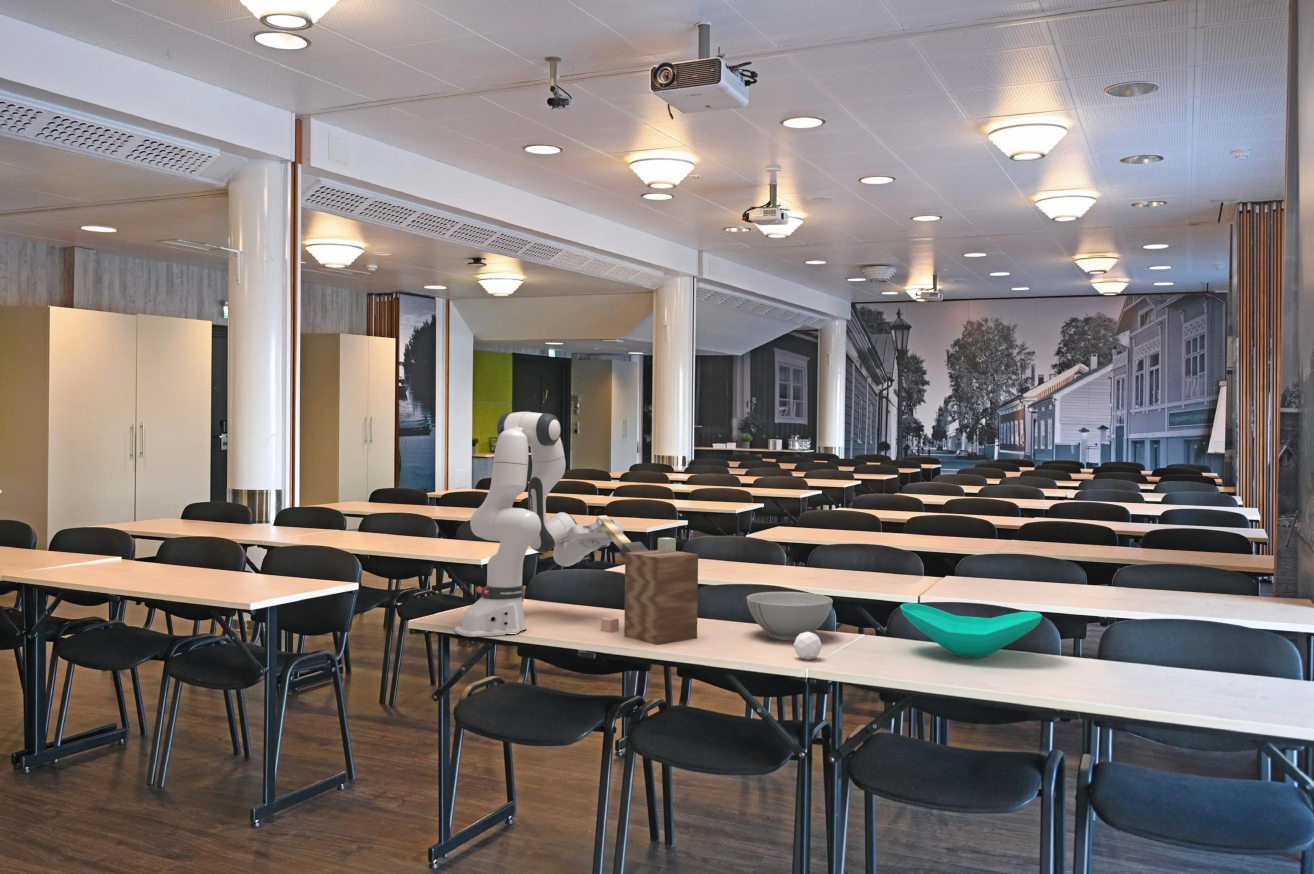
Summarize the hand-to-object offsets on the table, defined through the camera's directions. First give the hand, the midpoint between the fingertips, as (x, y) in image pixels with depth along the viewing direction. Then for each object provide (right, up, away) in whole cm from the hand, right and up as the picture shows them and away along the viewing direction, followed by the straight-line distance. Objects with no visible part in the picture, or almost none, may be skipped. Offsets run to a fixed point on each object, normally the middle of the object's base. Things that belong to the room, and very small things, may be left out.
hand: (607, 521), depth 346 cm
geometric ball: (+59, -35, -49) cm, 84 cm away
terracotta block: (0, -32, -10) cm, 34 cm away
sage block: (+19, -8, -14) cm, 25 cm away
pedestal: (+17, -34, -21) cm, 43 cm away
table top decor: (+107, -36, -41) cm, 120 cm away
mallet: (+4, -6, -5) cm, 9 cm away
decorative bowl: (+58, -35, -17) cm, 69 cm away
